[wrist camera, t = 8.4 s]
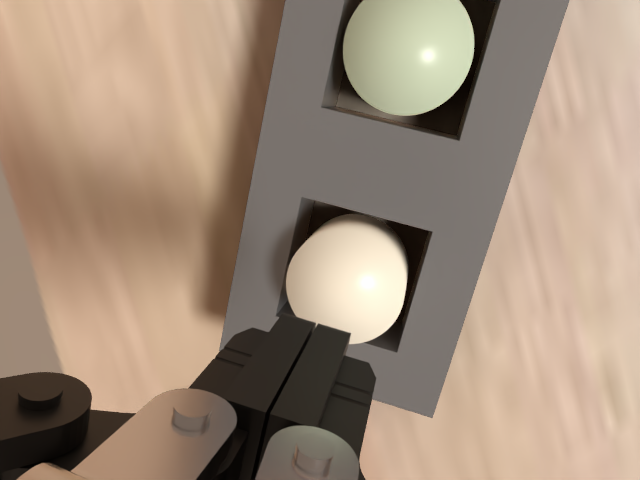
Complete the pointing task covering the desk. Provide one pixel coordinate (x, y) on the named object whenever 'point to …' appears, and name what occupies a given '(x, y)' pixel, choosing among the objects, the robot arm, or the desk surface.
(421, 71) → the sage button
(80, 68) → the desk surface
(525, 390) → the desk surface
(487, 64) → the button panel
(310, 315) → the cream button
